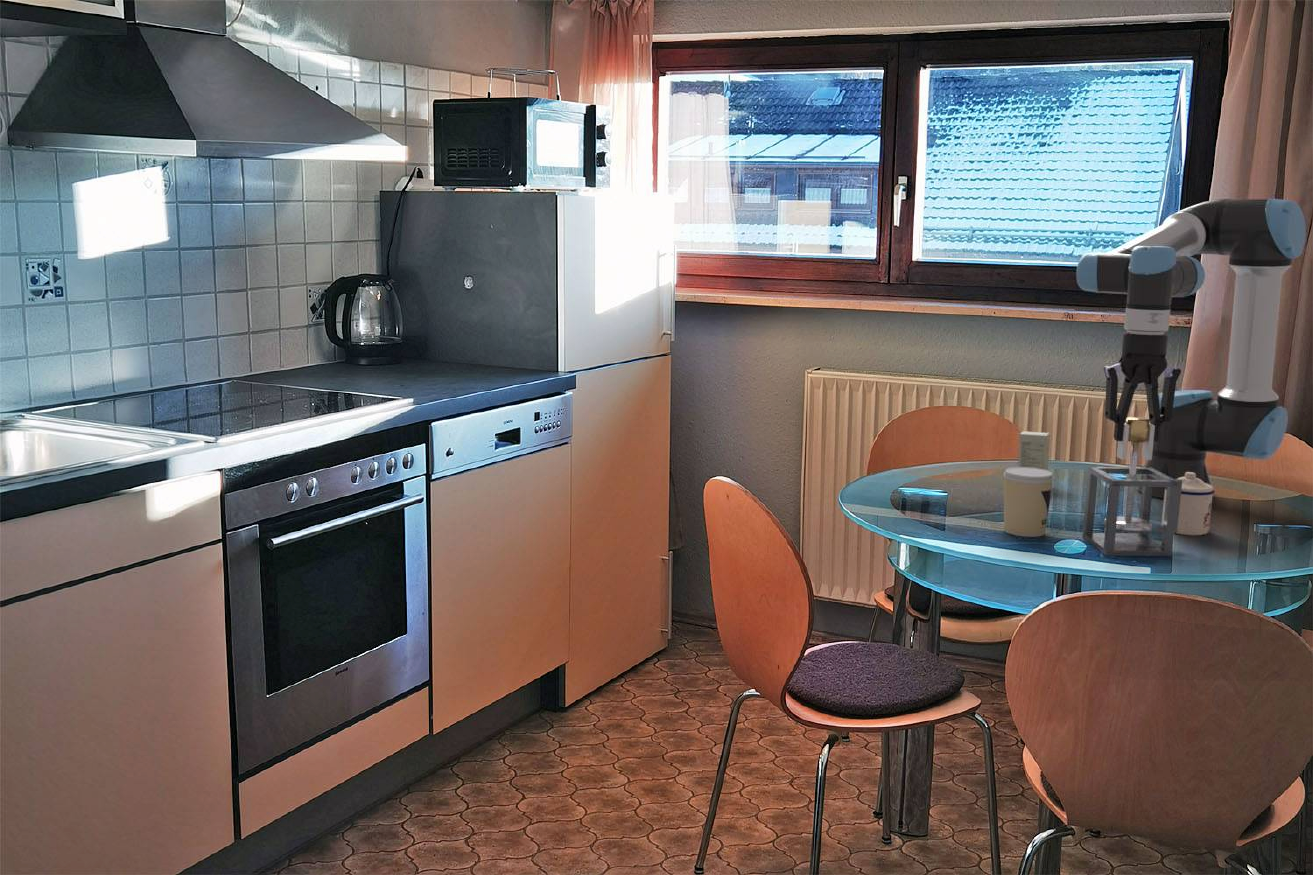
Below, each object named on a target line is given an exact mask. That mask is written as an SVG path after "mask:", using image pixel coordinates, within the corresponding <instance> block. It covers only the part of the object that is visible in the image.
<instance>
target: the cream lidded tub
mask: <svg viewBox="0 0 1313 875" xmlns="http://www.w3.org/2000/svg"><path fill="white" fill-rule="evenodd" d="M1054 479H1055V477H1054V474H1053V472H1052V471H1049V469H1048V470H1044V469H1039V468H1031V467H1018V466H1015V467H1014V466H1013V467H1007V468H1006V469H1005V471H1004V472H1003V530H1004V532H1006V533H1007V534H1009V535H1012V534H1013V536H1017V537H1026V538H1031V537H1032V538H1033V537H1035V538H1037V537H1042V536H1044V535H1045V534H1046V527H1047V523H1048V515H1049V511H1050V503H1051V496H1052V490H1053V482H1054Z"/></svg>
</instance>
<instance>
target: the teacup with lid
mask: <svg viewBox="0 0 1313 875" xmlns="http://www.w3.org/2000/svg"><path fill="white" fill-rule="evenodd" d="M1195 477H1196V474H1195V473H1193V472H1186V473H1185V477H1180V478H1178V479H1180V480H1182V489H1181V499H1180V508H1179V518H1178V528H1177V533H1175V534H1177V535H1184V536H1203V534H1204V535H1207V534H1208V533H1209V531H1210V525H1211V524H1210V523H1211V514H1212V504H1213V494H1214V493H1215V489H1214V487H1213V485H1212V484H1211V485H1209V484H1207V483H1204V482H1203V481H1202V480H1200V479H1198V478H1195ZM1164 488H1165V495H1164V498H1163V506H1162V507H1163V508H1162V517H1161V525H1163V524H1164V514H1165V504H1166V493H1167V487H1164Z"/></svg>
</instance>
